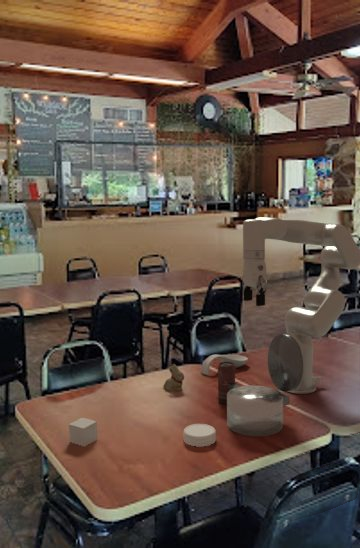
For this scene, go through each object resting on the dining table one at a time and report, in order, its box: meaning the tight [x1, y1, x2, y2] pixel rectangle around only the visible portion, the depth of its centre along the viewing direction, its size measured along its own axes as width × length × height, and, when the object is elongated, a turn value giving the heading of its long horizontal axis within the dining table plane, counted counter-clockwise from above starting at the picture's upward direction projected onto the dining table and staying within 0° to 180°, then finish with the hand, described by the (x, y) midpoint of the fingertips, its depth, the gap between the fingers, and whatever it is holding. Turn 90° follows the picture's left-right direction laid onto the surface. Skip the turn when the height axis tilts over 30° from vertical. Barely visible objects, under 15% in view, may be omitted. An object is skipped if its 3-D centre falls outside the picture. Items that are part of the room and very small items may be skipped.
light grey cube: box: [68, 417, 98, 448], centre depth 173 cm, size 6×6×6 cm
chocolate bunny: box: [162, 363, 185, 392], centre depth 216 cm, size 6×8×10 cm
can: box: [217, 361, 237, 405], centre depth 203 cm, size 6×6×14 cm
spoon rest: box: [200, 354, 249, 376], centre depth 240 cm, size 24×12×7 cm, turn 131°
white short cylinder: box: [182, 423, 217, 448], centre depth 172 cm, size 10×10×4 cm
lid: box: [267, 333, 303, 393], centre depth 185 cm, size 19×19×4 cm
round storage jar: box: [226, 381, 290, 437], centre depth 186 cm, size 20×26×10 cm
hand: (254, 302), depth 198 cm, fingers open, 9 cm apart
